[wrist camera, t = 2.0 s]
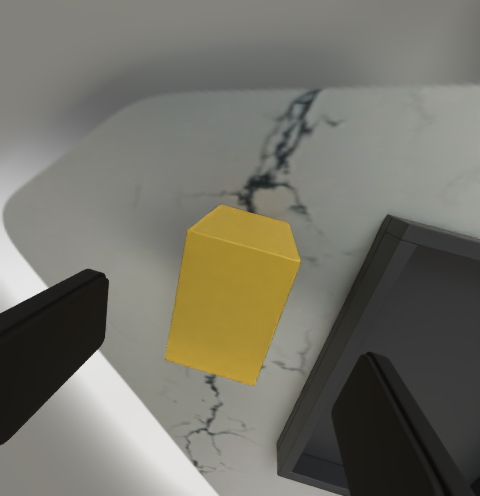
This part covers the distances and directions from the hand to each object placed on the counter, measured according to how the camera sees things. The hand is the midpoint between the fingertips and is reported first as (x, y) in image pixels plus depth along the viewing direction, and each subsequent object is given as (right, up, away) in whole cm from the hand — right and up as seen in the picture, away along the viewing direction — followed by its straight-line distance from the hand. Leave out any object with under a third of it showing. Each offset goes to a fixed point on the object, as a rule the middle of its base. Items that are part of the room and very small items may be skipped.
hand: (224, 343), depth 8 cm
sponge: (+1, +3, +6) cm, 6 cm away
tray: (+13, -6, +7) cm, 16 cm away
